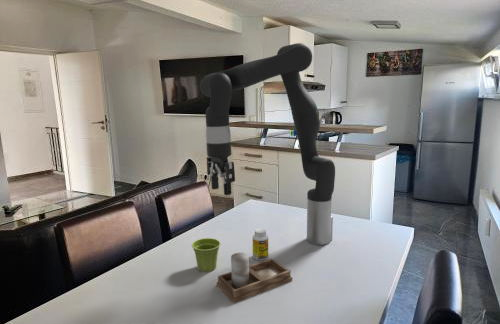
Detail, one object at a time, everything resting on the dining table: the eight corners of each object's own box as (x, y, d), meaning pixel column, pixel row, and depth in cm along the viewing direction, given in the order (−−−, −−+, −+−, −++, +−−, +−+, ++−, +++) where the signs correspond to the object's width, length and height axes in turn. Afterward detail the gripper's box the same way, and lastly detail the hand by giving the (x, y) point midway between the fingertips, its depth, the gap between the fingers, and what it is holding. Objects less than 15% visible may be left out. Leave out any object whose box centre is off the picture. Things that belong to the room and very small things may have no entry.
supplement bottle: (258, 262, 116) (258, 234, 114) (249, 256, 120) (249, 229, 118) (271, 258, 119) (271, 231, 117) (262, 252, 123) (262, 226, 121)
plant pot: (209, 258, 119) (208, 235, 118) (226, 267, 113) (226, 243, 111) (187, 268, 113) (186, 243, 111) (204, 278, 106) (203, 252, 105)
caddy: (271, 266, 113) (271, 238, 111) (292, 280, 104) (292, 250, 102) (216, 285, 102) (215, 254, 100) (233, 303, 93) (232, 269, 91)
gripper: (241, 141, 98) (243, 194, 102) (218, 137, 110) (221, 185, 113) (218, 144, 95) (221, 199, 98) (197, 139, 106) (201, 189, 110)
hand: (221, 191), depth 106 cm, fingers open, 8 cm apart
